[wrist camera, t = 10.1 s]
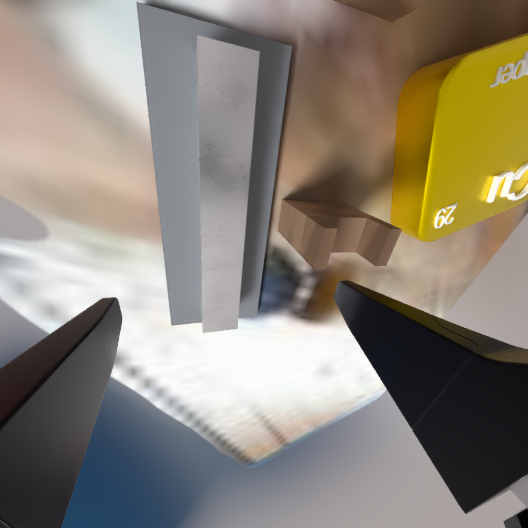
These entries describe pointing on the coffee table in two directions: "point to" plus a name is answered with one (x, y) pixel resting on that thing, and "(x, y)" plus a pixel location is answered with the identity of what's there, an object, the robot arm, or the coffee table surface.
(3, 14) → the coffee table surface
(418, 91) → the element tile
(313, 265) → the hook posts
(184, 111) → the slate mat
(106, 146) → the coffee table surface
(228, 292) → the steel rail
